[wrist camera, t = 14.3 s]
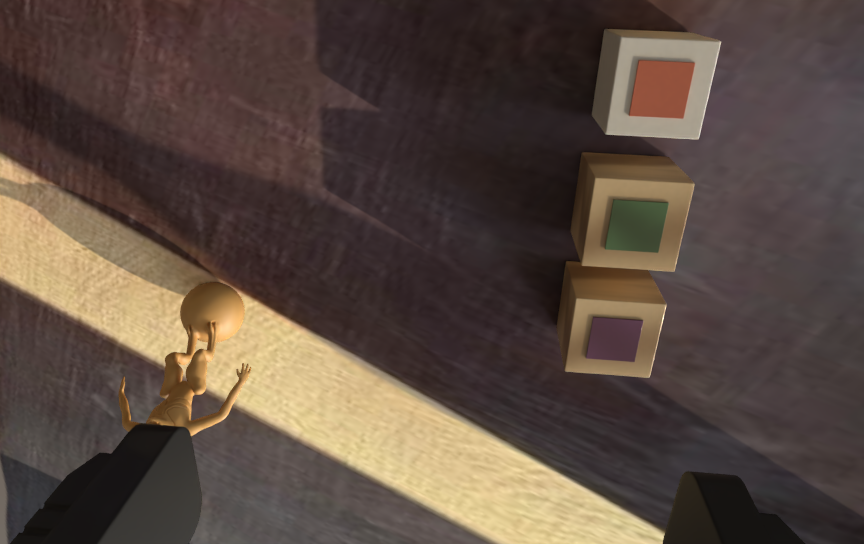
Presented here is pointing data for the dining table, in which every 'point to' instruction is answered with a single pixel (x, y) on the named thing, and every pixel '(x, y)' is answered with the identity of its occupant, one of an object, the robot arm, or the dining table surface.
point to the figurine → (196, 358)
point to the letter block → (654, 83)
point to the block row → (620, 261)
